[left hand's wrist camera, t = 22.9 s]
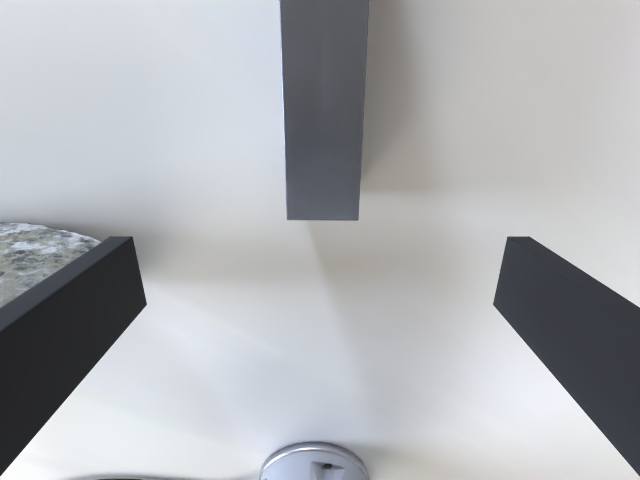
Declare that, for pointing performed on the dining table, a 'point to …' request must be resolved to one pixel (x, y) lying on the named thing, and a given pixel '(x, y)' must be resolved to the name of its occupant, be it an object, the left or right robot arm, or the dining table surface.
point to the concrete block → (35, 255)
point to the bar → (323, 105)
